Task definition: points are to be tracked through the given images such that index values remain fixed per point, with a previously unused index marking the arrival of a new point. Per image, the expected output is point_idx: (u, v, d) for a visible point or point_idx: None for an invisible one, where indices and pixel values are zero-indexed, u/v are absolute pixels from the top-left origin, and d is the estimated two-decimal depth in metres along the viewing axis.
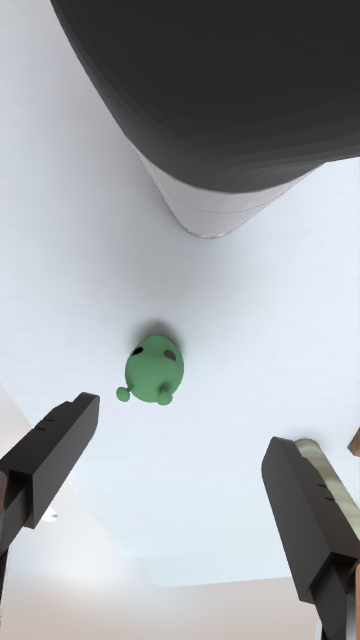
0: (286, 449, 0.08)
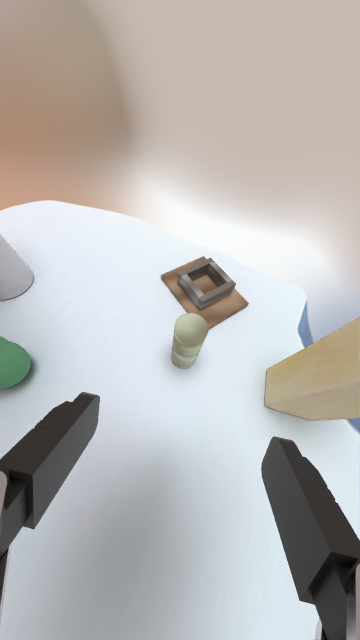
0: (286, 449, 0.08)
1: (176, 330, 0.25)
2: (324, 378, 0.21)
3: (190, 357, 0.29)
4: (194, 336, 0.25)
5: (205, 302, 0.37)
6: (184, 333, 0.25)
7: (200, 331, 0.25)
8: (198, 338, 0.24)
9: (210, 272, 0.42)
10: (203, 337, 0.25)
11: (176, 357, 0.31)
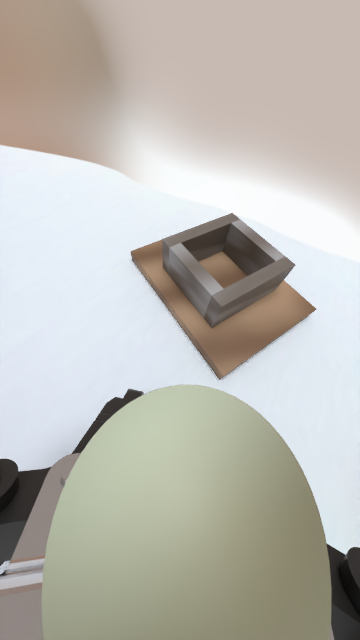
0: None
1: (57, 578, 0.03)
2: None
3: None
4: None
5: (225, 308, 0.15)
6: (126, 618, 0.03)
7: (269, 572, 0.03)
8: None
9: (231, 244, 0.20)
10: None
11: None
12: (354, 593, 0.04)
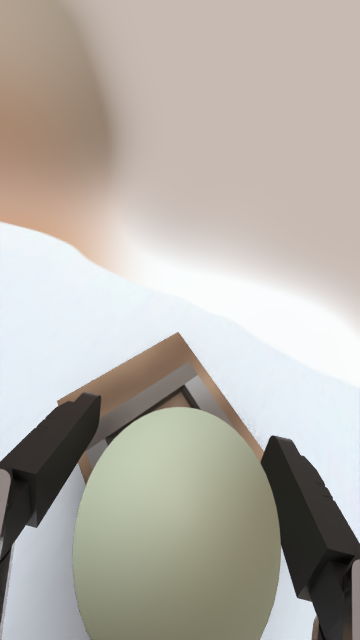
0: (284, 448, 0.08)
1: (83, 553, 0.04)
2: None
3: None
4: (198, 608, 0.04)
5: None
6: (132, 580, 0.04)
7: (235, 551, 0.04)
8: (226, 624, 0.04)
9: (189, 399, 0.15)
10: (259, 613, 0.04)
11: None
12: None
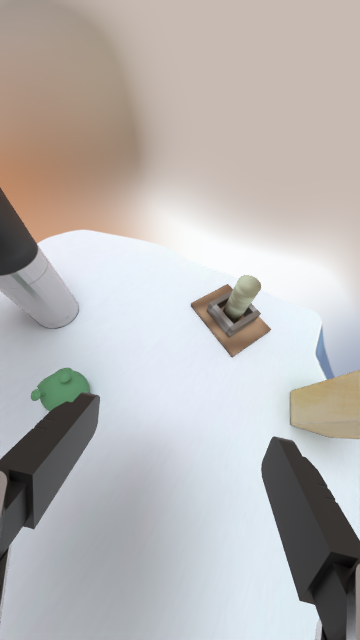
0: (286, 449, 0.08)
1: (239, 285, 0.36)
2: (350, 409, 0.26)
3: (242, 310, 0.41)
4: (252, 289, 0.36)
5: (234, 331, 0.42)
6: (245, 287, 0.36)
7: (255, 286, 0.36)
8: (255, 290, 0.36)
9: None
10: (258, 290, 0.36)
11: (230, 312, 0.42)
12: None
